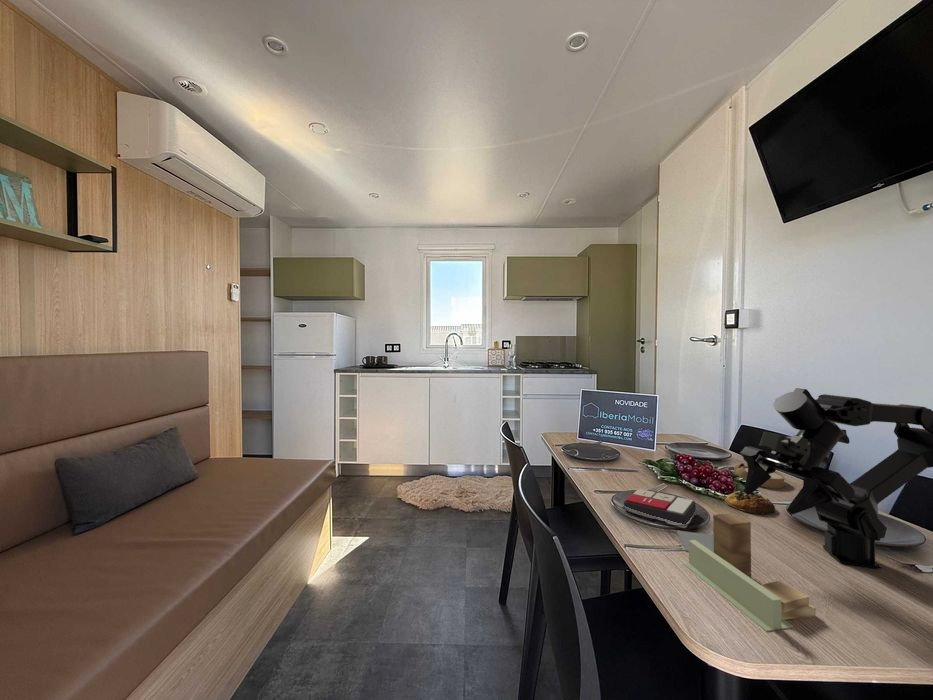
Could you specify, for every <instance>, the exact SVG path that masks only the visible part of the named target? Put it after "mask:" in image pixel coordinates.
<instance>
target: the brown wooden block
mask: <svg viewBox="0 0 933 700" xmlns="http://www.w3.org/2000/svg"><path fill="white" fill-rule="evenodd" d="M712 516H713V517H712V521H713V522H712V523H713V524H712V525H713V528H712V529H713V531H712V532H713V534H712V535H714V553H715V554H716V555H718V556H719V557H721V558H722V559H724V560H725V561H726V562H728V563H729V564H731V565H732V566H734V567H735V568H737V569H738V570H740V571H741V572H742V573H744V574H745V575H747V576H748V577H750V578H752V542H751V541H752V536H751V533H752V532H751V529H752V527H751V521H750V520H748V519H746V518H743V517H741V516H740V515H738V514H736V513H734V512H730V513H727V512H726V513H720V514H719V513H718V514H713V515H712Z"/></svg>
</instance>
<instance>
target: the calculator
mask: <svg viewBox="0 0 933 700" xmlns="http://www.w3.org/2000/svg"><path fill="white" fill-rule="evenodd" d="M624 506H626V507H629V508H631V509H634V510H637V511H640V512H643V513H646V514H649V515H652V516H656V517H660V518H663V519H667V520H670V521H673V522H677V523H682V524H686V523H687V522H688V521H689V520H690V518H691V517H692V515H693V514H694V512H695V510H696V511H697V508H696V502H695V501H694V500H693V499H689V498H688V499H687V498H682V497H676V495H671V494H665V493H661V492H656V491H651V490H646V489H641V488H638V489H637V490H635V492H634V493H632V494H630V496H628V497H627V498H626V499H625V500H624V501H623V507H624Z"/></svg>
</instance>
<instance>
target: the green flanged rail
mask: <svg viewBox="0 0 933 700" xmlns="http://www.w3.org/2000/svg"><path fill="white" fill-rule="evenodd" d="M683 565H684V566H685V567H686V568H687V569H689V570H690V571H691V572H692V573H694V575H696V576H697V577H698V578H699V579H701V580H702V581H703V582H705V583H706V584H707V585H708V586H709V587H711V588H712V589H713V590H715V591H716V592H717V593H719V595H721V596H722V597H724V599H725V600H727V601H728V602H729V603H731V604H732V606H734V607H736V608H737V610H740V611H741V612H742V613H743V614H744V615H746V617H748V618H749V619H750V620H752V621H753V622H754V623H755V624H757V625H758V627H760V628H761V629H763V630H764V631H765V632H773V631H780V630H781V631H782V630H786V629H792V628H794V625H793V624H791V623H789V622H788V620H787V619H786V620H781V599H780V598H779V597H777V596H776V595H774V594H773V593H771V592H770V591H769V590H767V589H766V588H764V587H763V586H761V585H762V584H760V583H758V582H757V581H756V580H754V579H753V578H752V577H748V576H747V575H745V574H744V573H742V572H741V571H740V570H738V569H737V568H735V567H734V566H732V565H731V564H729V563H728V562H726V561H725V560H724V559H722V558H721V557H719V556H718V555H716V554H715V553H713V552H712V551H711V550H709V549H708V548H706V547H705V546H703V545H702V544H700V543H699V542H697V541H696V540H689V552H688V562H686V563H685V562H684V563H683Z"/></svg>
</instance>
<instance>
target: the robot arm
mask: <svg viewBox="0 0 933 700" xmlns="http://www.w3.org/2000/svg"><path fill="white" fill-rule="evenodd" d="M817 397H818V398H817V399H815V398H814V396H812V394H811V393H810V391H809V390H808V389H807V388H795V389H794V390H793V391H791V392H790V391H789V392H786V393H784V394H781V395H780V396H778V397H776V398H775V399H774V401H773V404H772V405H773V406H772V407H773V408H774V410H775V411H776V412H777V413H778V414H779V415H780V416H781V417H782V418H783V419H784V420H785V422H786V423H788V424H789V425H790V427H792V428H793V429H795V430H798V432H797V433H796V434H795V435H792V436H790V435H789V436H785V435H784V436H783V435H780V434H776V433H772V432H768V431H763V433H762V436H761V439H760V441H759V444H758V446H759V447H761V448H765V449H768V450H770V451H771V452H770V454H772V456H773V457H776V458H777V459H773V458H772V457H771V456H770V455H769V453H767V452H766V451H765V450H764V449H760V448H757V447H753V446H744V448H742V450H741V451H740V452H739V455H741V457H742V459H743V460H744V461H745V463H746V466H748V474H747V479H746V482H745V483H744V488H743V491H744V493H746V494H747V495H749V494H751V493H752V492H753V493H755V492H756V491H757V489H759V488H760V487H762V486H761V485H762V484H764V483H765V482H766V481H767V480H769V479H770V478H771V476H770V475H769V474H771V473H774V472H775V471H777V472H780V473H784V474H788V475H789V476H790V475H791V476H794V477H796V478H799V479H802V480H803V482H802V487H801V489H800V490H799V491H798V493H797V494H796V496H795V497H794V498H793V500H792V501H791V502H790V504H789V505H788V507H787V510H786V511H787V512H788V514H790V515H795V514H798V513H800V512H803V511H806V510H808V509H812V508H814V509H815V511H816V515H817V517H818V520H819V521H821V522H824V523H826V524H827V525H826V526H827V527H826V530H824V544H823V545H822V548H823V549H824V550H826V552H828V553H829V554H830V555H831V556H832V557H833V558H834V559H835V560H837V561H838V563H841V564H844V565H852V566H859V567H867V568H873V569H880V570H881V569H882V566H881V564H880V563H878V562H877V561H876V541H877V542H881V539H885V537H886V533H887V529H888V528H887V527H886V526H885V524H884V523H883V522H882V521H881V520H880V519H879V518H878V517H879V509H878V504H880V503H881V502H882V501H884V500H885V499H887V498H888V497H889V496H890V495H892V494H893V493H895V492H896V491H897V490H898V489H900V488H901V487H903V486H904V485H906V484H908V482H910V481H911V480H912V479H914V478H915V477H917V476H918V475H919V474H921V473H922V472H924V470H925V471H926V469H929V468H933V410H932V409H931V408H927V407H925V406H920V405H911V404H903V403H901V404H890V403H889V404H887V403H877V402H876V403H873V402H871V401H869V400H867V399H866V400H865V399H862V398H858V397H853V396H852V397H850V396H844V395H843V396H842V395H834V394H826V393H825V394H820V395H818V396H817ZM873 422H877V423H891V424H892V423H893V424H895V427H894V429H893V433H894V434H895V436H896V437H897V439H896V441H897V450H895V451H894V452H892V453H891V454H890V455H888V456H887V457H885V458H884V459H883V460H881V461H880V462H879V463H877V464H875V466H873V467H871V468H869V470H867V471H866V472H864V473H863V474H862V475H861V476H859V477H857V478H856V479H855V480H853V481H852V482H850V483H849V482H848V481H847V480H846V479H845V478H844V477H843V475H842V474H841V473H840V472H838V471H835V470H831V469H827V468H824V467H821V465H822V464H824V465H829V464H830V462H831V459H830V458H828V456H829V454H830V453H831V452H832V451H833V450H834V447H836V445H837V444H838V443H842V444H847V445H848V444H850V437H849V436H848V435H847V430H846V429H843V428H840V426H838V425H837V424H839V425H846V426H852V427H860V426H867V425H868V426H869V425H870V424H871V423H873ZM909 425H915V426H921V427H922V428H920V427H919V428H918V427H911V426H909Z"/></svg>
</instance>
